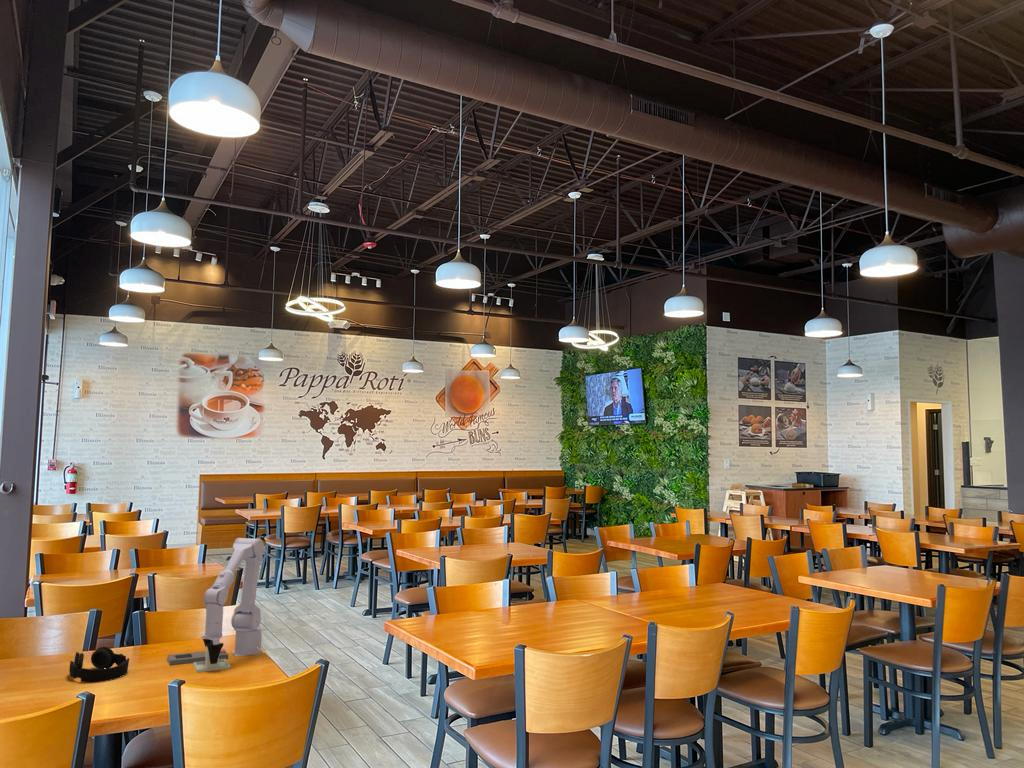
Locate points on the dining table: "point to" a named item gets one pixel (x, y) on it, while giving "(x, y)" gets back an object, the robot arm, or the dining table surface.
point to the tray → (201, 668)
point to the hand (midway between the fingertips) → (211, 661)
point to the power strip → (192, 657)
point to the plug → (207, 660)
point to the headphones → (99, 666)
